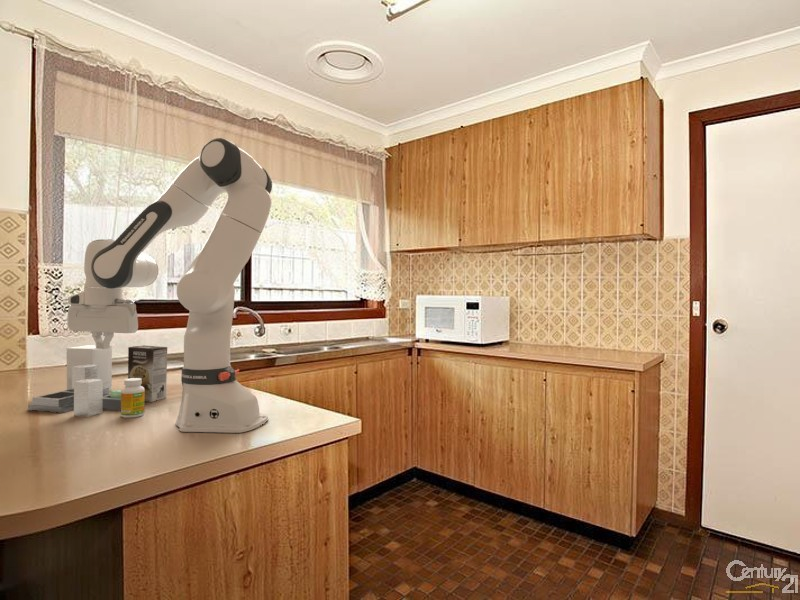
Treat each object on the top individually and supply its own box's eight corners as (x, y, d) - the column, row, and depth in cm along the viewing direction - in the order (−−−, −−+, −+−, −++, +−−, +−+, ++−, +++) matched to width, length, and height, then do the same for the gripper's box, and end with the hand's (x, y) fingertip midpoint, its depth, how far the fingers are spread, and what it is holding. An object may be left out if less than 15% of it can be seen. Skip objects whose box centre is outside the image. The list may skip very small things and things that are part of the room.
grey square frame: (141, 403, 134) (141, 393, 134) (119, 410, 126) (119, 399, 126) (117, 402, 136) (117, 392, 136) (94, 408, 128) (94, 398, 128)
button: (129, 400, 133) (130, 390, 133) (118, 403, 129) (119, 392, 129) (118, 399, 133) (118, 389, 133) (106, 402, 129) (106, 392, 129)
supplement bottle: (133, 418, 119) (134, 381, 119) (115, 417, 120) (116, 380, 120) (148, 413, 124) (149, 378, 124) (131, 412, 125) (132, 376, 125)
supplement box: (112, 390, 151) (113, 345, 151) (91, 396, 142) (92, 348, 142) (87, 389, 152) (88, 344, 152) (65, 395, 143) (65, 347, 143)
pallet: (112, 398, 140) (113, 364, 139) (61, 412, 123) (61, 374, 123) (82, 396, 142) (82, 362, 142) (28, 410, 125) (28, 371, 125)
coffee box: (126, 400, 139) (126, 347, 138) (143, 395, 145) (143, 344, 145) (151, 402, 136) (152, 348, 136) (167, 397, 143) (168, 346, 142)
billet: (102, 412, 124) (102, 379, 124) (88, 417, 120) (88, 382, 120) (88, 411, 125) (88, 378, 125) (73, 415, 121) (74, 381, 121)
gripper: (144, 299, 127) (143, 349, 127) (83, 297, 131) (82, 345, 131) (125, 299, 120) (125, 351, 121) (62, 297, 125) (62, 348, 125)
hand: (102, 348), depth 126 cm, fingers closed
